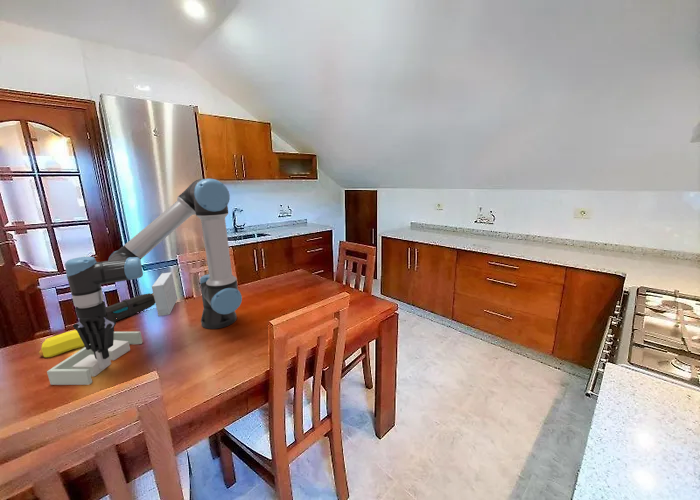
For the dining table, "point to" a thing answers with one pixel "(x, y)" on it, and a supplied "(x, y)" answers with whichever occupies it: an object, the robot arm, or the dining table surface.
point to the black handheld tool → (129, 307)
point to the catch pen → (69, 376)
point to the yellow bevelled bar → (61, 344)
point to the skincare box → (164, 294)
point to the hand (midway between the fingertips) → (104, 366)
